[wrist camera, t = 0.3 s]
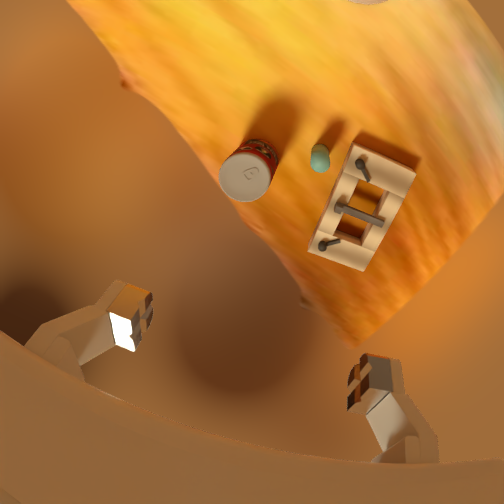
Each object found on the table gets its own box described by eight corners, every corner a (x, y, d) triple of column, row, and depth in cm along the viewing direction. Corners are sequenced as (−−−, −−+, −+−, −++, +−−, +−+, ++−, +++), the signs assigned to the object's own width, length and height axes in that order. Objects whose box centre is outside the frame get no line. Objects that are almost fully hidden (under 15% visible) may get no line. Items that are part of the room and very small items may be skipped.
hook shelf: (352, 141, 49) (355, 148, 44) (411, 168, 48) (419, 178, 44) (308, 243, 61) (307, 257, 57) (361, 263, 61) (364, 278, 57)
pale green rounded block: (314, 141, 50) (314, 151, 44) (331, 147, 50) (332, 158, 44) (309, 156, 52) (307, 168, 46) (325, 162, 52) (325, 175, 46)
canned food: (288, 155, 52) (281, 174, 43) (261, 187, 57) (248, 212, 48) (253, 128, 51) (238, 142, 42) (228, 162, 55) (208, 182, 46)
